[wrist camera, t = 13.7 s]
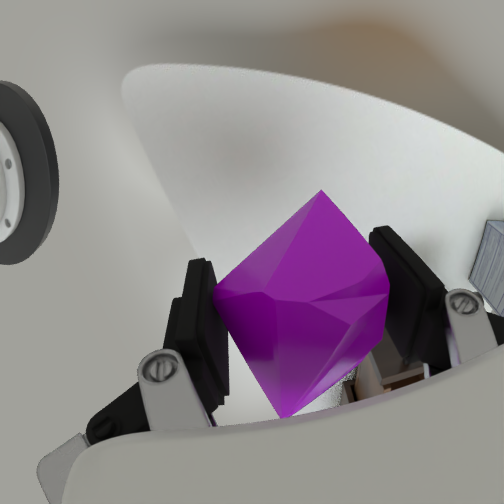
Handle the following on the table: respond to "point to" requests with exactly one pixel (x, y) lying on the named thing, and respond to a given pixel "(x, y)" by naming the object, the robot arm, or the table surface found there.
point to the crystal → (305, 305)
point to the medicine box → (491, 267)
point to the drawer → (386, 369)
